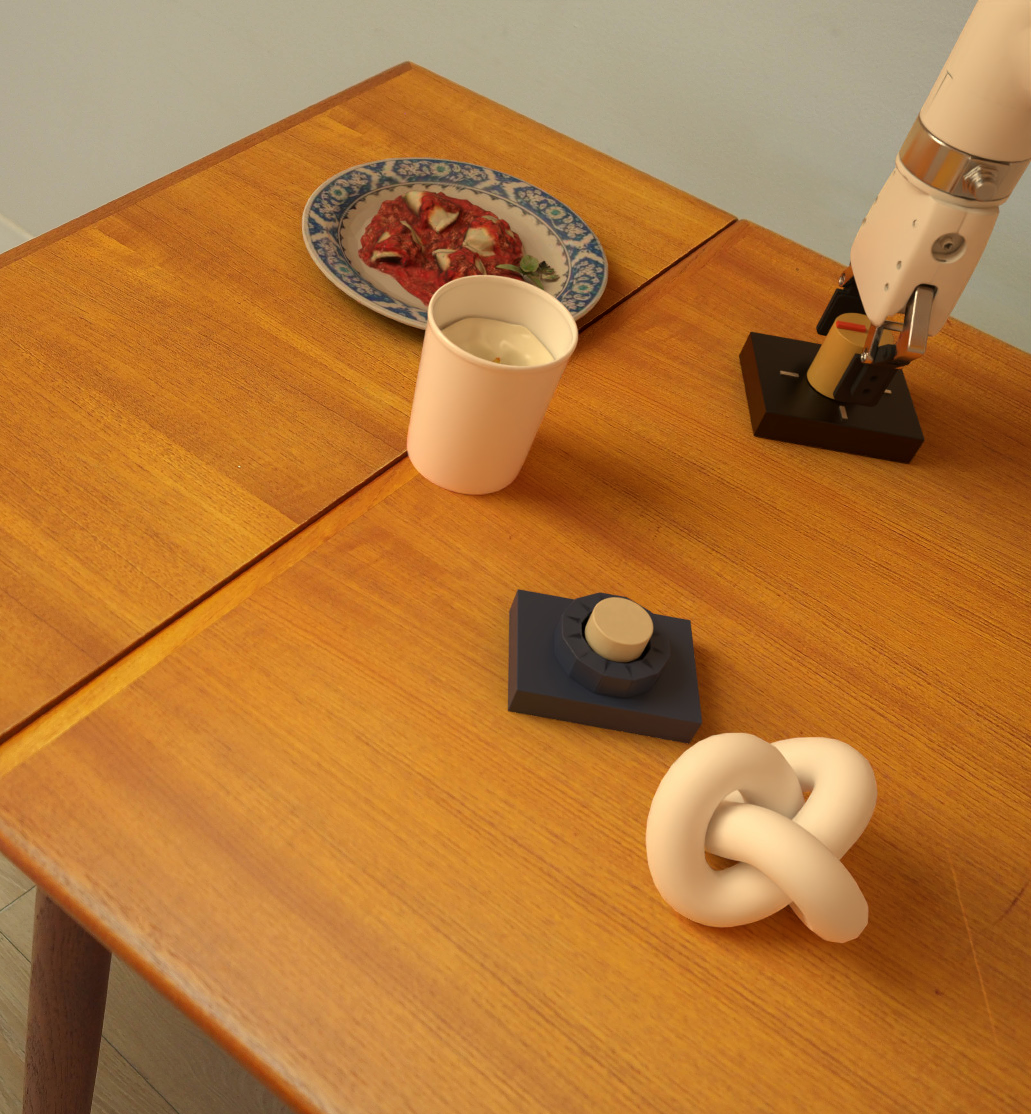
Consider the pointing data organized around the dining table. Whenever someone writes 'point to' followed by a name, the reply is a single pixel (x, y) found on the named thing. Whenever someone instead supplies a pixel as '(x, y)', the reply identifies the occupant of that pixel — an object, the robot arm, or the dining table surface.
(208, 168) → the dining table surface
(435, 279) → the ceramic plate
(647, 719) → the push button box
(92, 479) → the dining table surface
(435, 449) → the candle holder
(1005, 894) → the dining table surface
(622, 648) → the bell button
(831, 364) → the lock knob
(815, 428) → the black dial base
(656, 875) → the white knot sculpture
